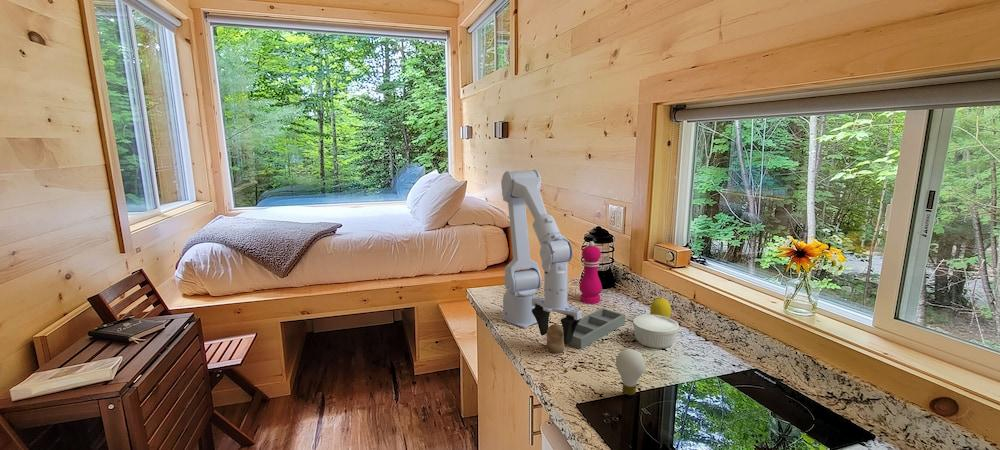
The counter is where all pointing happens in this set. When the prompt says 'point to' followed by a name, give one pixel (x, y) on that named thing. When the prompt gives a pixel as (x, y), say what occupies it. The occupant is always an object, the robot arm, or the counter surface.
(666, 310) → the lemon
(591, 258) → the pepper mill
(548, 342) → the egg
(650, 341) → the ramekin
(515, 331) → the counter surface
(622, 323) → the tray
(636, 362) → the light bulb
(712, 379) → the counter surface
